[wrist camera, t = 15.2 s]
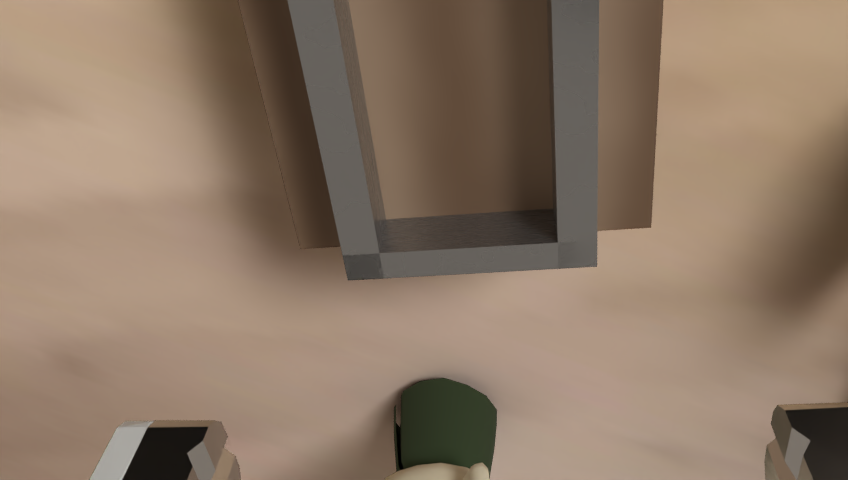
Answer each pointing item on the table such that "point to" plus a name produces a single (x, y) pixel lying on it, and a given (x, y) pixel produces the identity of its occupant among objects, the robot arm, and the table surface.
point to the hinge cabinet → (460, 127)
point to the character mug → (444, 433)
